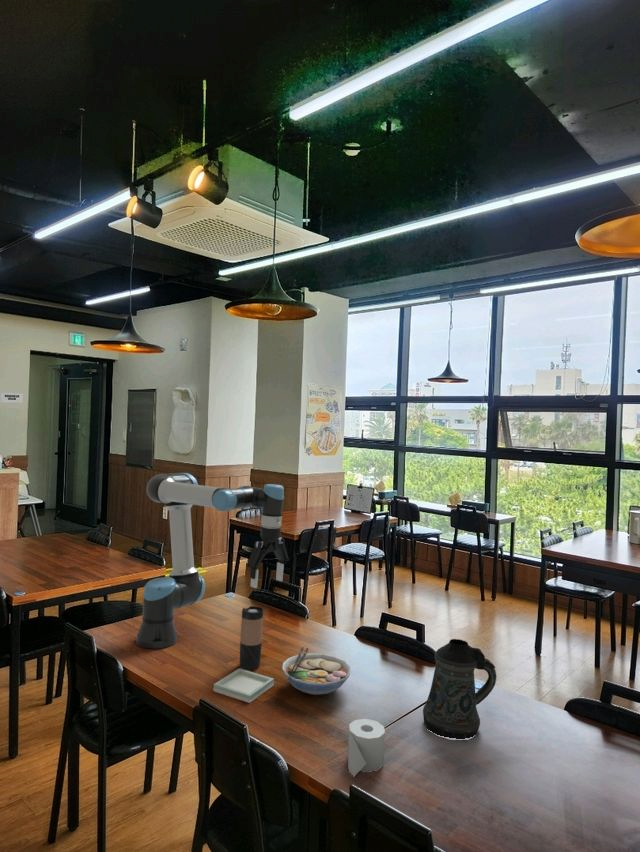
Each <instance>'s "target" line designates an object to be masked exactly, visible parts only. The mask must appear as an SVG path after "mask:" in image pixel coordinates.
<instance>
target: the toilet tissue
mask: <svg viewBox="0 0 640 852" xmlns="http://www.w3.org/2000/svg"><path fill="white" fill-rule="evenodd" d="M348 725H349V726H348V739H347V740H348V741H347V765H348V766H347V768H348V769H349V771H350V772H351V774H352V775H353V777H352V778H355V776H357V774H358V773H359V772H360V771H365V772H369V771H375V770H378V769H379V768H380V767H381V766H382V765H383V766H384V760H385V759H384V758H385V741H386V740H385V738H386V731H385V726H384V725H382V724H381V722H378V721H377V720H374V719H373V720H372V719H369V718H363V719H362V718H361V719H355V720H354V721H352V722H351V723H349V724H348ZM348 769H347V770H348ZM349 771H348V772H349ZM350 772H349V773H350ZM351 774H350V775H351ZM352 775H351V776H352Z"/></svg>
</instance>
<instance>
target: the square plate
mask: <svg viewBox="0 0 640 852" xmlns="http://www.w3.org/2000/svg"><path fill="white" fill-rule="evenodd" d="M274 685H275V678H273V677H270V676H267V675H263V674H260V673H256V672H252V671H251V670H245V669H242V668H241V667H240V668H238V669H236V670H233V672H231V673H229V674H228V675H226V676H225V677H223V678H221V679H220V680H218V681H217V682H215V683H213V692H215V693H218V694H221V695H224V696H227V697H230V698H232V699H237V700H239V701H241V702H246V703H248V704H251V703H252V702H253V701H254V700H256V699H258V698H259V697H260V696H262V695H263V694H264V693H266V692H267V691H269V690H270V689H271V688H272V687H274Z"/></svg>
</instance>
